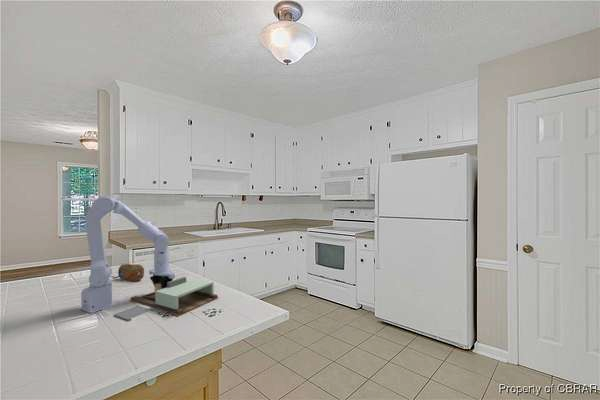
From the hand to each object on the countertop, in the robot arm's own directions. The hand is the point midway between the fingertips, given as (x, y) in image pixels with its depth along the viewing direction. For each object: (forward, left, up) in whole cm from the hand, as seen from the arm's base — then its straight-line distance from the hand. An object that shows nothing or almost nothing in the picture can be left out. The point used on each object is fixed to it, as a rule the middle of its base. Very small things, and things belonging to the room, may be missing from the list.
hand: (162, 292), depth 120 cm
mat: (-16, -6, -2) cm, 17 cm away
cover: (0, -15, 0) cm, 15 cm away
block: (0, 0, -1) cm, 1 cm away
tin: (+8, +36, -2) cm, 37 cm away
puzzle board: (0, -8, -2) cm, 8 cm away
